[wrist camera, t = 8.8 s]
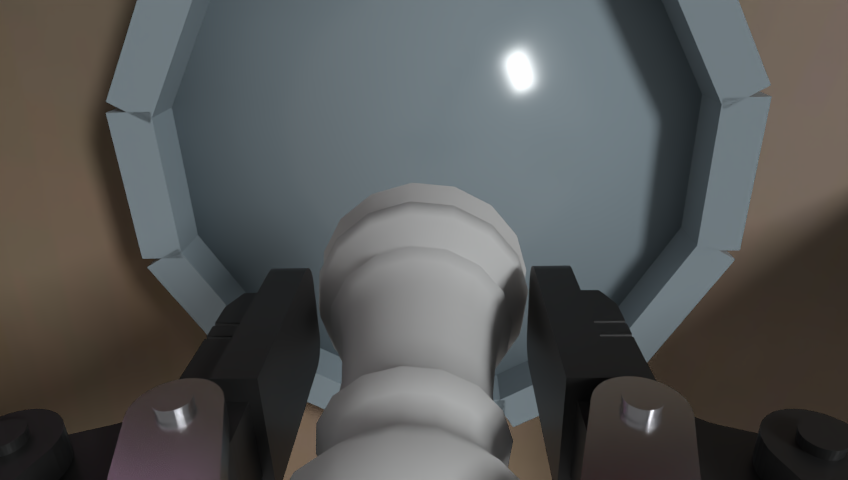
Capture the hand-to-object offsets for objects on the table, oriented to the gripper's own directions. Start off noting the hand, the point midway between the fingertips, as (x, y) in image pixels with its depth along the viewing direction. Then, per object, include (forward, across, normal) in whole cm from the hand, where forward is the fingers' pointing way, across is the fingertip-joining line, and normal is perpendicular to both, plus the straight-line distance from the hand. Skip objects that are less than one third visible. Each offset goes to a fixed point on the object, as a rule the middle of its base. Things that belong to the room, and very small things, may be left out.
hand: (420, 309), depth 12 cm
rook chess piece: (+2, 0, 0) cm, 2 cm away
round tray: (+10, 0, 0) cm, 10 cm away
